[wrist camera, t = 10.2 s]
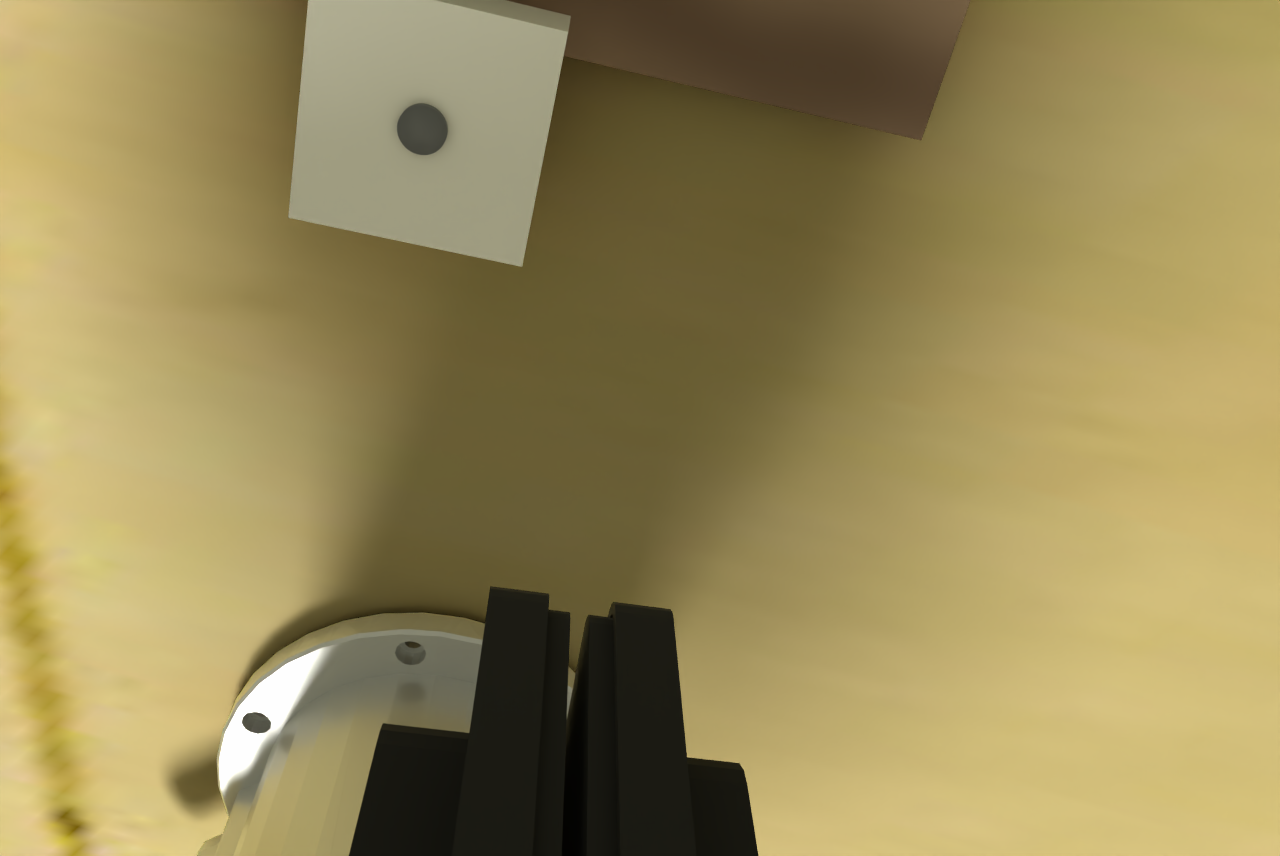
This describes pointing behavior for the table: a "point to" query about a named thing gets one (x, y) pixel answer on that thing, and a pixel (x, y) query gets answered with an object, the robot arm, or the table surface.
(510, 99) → the tile one
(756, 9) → the tile board
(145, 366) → the table surface
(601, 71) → the table surface
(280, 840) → the robot arm
